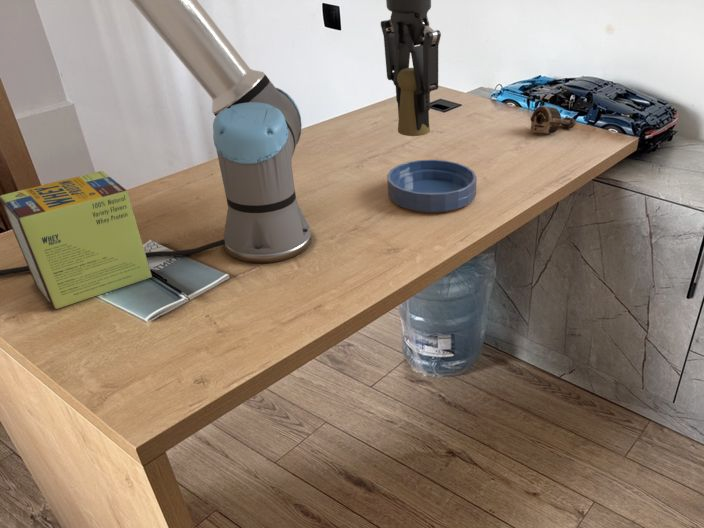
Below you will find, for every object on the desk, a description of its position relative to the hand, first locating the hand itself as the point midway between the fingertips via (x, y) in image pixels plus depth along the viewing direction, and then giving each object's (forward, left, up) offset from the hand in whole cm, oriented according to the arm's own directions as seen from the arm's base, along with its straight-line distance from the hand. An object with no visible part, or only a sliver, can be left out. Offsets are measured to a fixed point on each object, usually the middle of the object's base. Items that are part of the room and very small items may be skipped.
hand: (413, 124), depth 125 cm
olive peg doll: (0, 0, -1) cm, 1 cm away
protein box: (-57, +15, -17) cm, 62 cm away
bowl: (+7, +2, -17) cm, 19 cm away
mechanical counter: (+58, +10, -17) cm, 61 cm away
